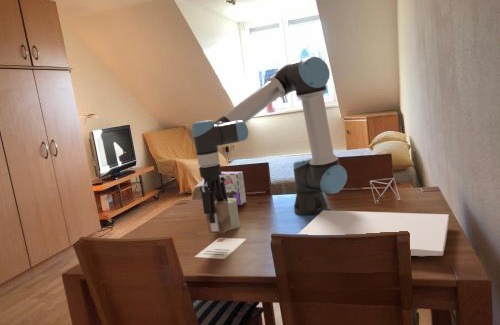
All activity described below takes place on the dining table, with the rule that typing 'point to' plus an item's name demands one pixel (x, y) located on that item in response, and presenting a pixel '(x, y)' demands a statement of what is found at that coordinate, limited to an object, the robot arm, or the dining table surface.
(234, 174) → the candy box
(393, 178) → the geometric polyhedron
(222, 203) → the block
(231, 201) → the can
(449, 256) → the dining table surface
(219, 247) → the letter
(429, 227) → the board
